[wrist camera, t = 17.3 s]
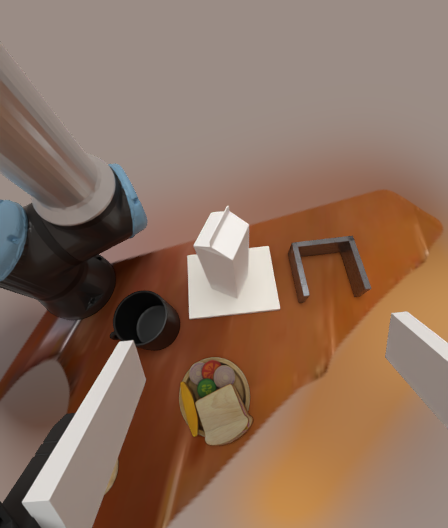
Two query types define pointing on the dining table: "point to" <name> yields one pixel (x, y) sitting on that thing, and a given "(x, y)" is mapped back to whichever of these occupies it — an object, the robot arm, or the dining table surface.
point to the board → (251, 296)
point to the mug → (145, 321)
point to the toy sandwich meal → (216, 401)
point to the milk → (224, 252)
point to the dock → (325, 247)
